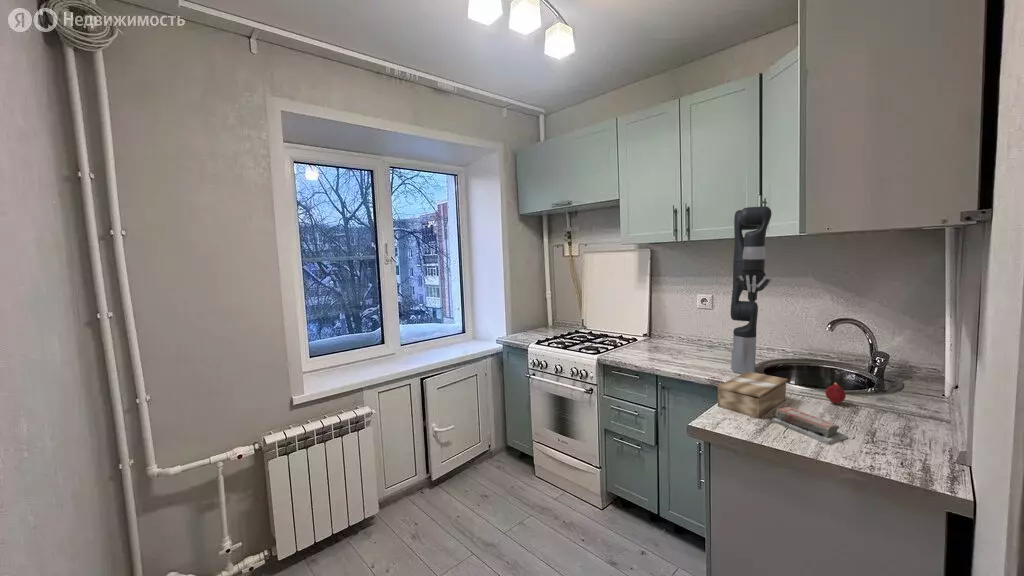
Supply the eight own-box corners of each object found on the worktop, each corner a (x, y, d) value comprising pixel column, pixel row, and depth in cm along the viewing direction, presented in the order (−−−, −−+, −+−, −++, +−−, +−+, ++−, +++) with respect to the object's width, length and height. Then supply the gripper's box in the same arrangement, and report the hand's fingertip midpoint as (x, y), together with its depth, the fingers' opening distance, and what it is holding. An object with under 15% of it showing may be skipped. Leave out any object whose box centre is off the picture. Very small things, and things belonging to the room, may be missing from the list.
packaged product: (770, 408, 137) (790, 403, 141) (770, 422, 138) (789, 417, 142) (828, 430, 121) (849, 424, 124) (827, 446, 121) (848, 439, 125)
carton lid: (717, 388, 150) (717, 385, 150) (747, 373, 165) (747, 371, 165) (759, 397, 138) (759, 394, 138) (787, 380, 153) (787, 378, 153)
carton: (717, 406, 151) (718, 388, 150) (746, 390, 165) (746, 374, 165) (758, 418, 140) (759, 399, 139) (785, 400, 154) (786, 383, 153)
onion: (849, 406, 148) (850, 384, 147) (835, 407, 147) (837, 386, 146) (834, 400, 154) (835, 379, 153) (821, 401, 153) (822, 381, 152)
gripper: (776, 257, 156) (774, 302, 158) (740, 257, 167) (739, 298, 169) (768, 258, 152) (766, 304, 154) (732, 258, 162) (730, 300, 164)
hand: (752, 301), depth 161 cm, fingers closed
